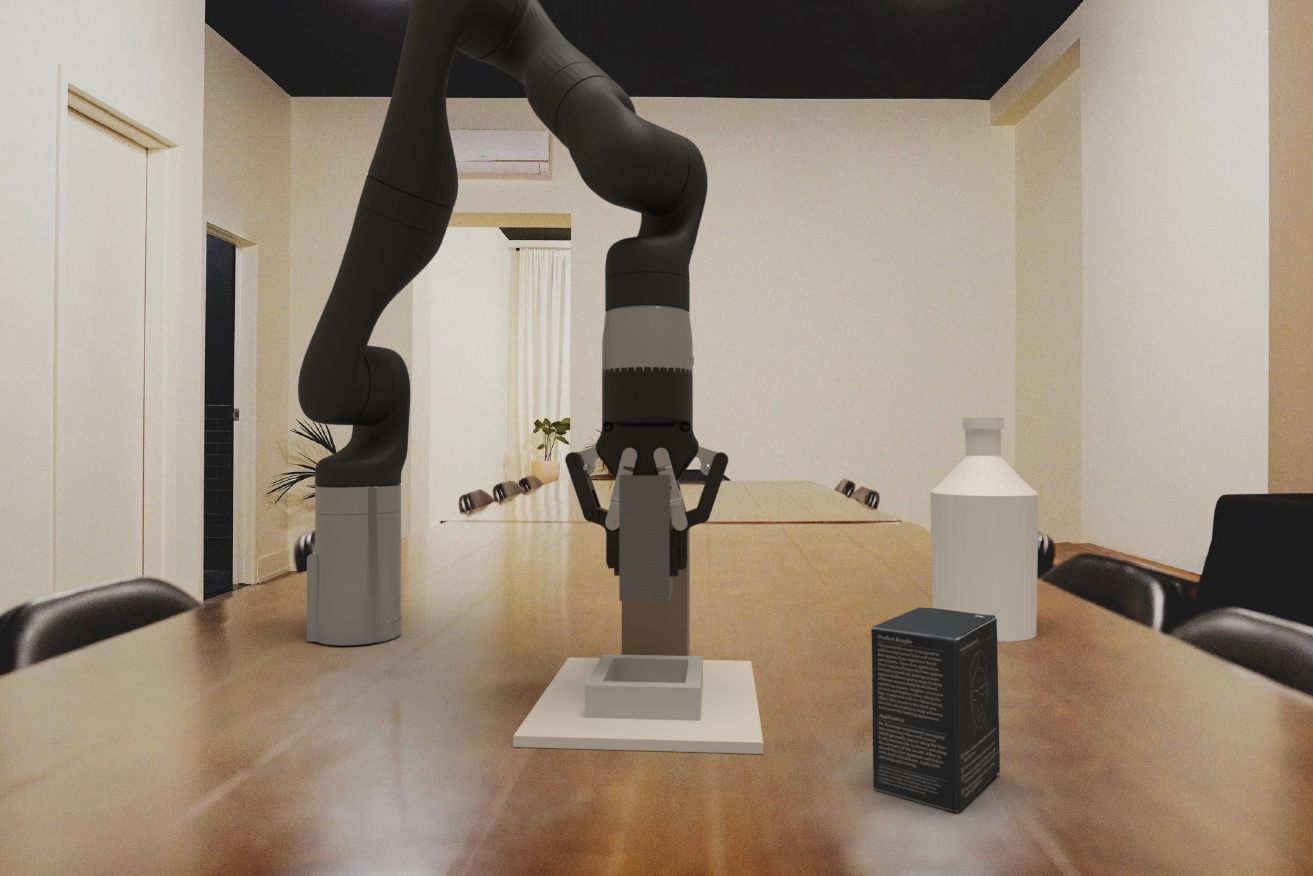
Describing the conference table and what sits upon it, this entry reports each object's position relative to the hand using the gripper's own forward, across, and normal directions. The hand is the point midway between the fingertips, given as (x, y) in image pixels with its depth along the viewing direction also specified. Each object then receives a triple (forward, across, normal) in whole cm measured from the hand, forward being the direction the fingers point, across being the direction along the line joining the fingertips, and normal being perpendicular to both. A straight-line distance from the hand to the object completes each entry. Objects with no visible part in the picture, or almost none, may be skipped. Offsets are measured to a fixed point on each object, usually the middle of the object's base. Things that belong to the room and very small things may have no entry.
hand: (647, 573), depth 68 cm
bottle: (+11, +37, +32) cm, 50 cm away
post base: (+11, 0, +2) cm, 11 cm away
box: (+11, +20, -13) cm, 26 cm away
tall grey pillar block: (+2, 0, 0) cm, 2 cm away
